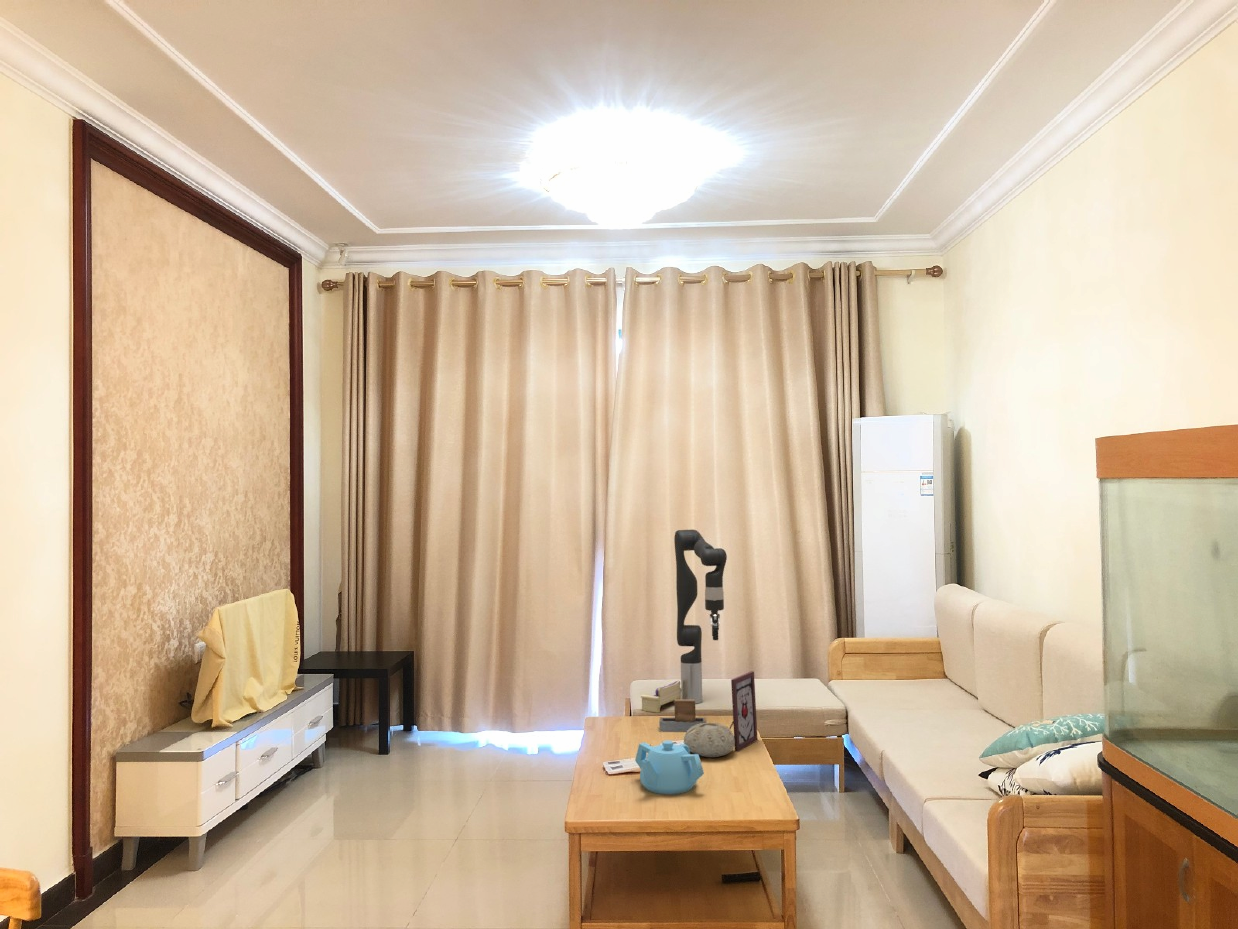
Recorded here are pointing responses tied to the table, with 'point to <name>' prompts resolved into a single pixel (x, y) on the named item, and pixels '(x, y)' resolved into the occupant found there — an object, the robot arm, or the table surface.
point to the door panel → (685, 710)
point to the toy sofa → (661, 697)
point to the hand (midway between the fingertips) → (715, 638)
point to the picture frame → (744, 710)
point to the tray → (677, 724)
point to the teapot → (668, 767)
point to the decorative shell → (709, 739)
